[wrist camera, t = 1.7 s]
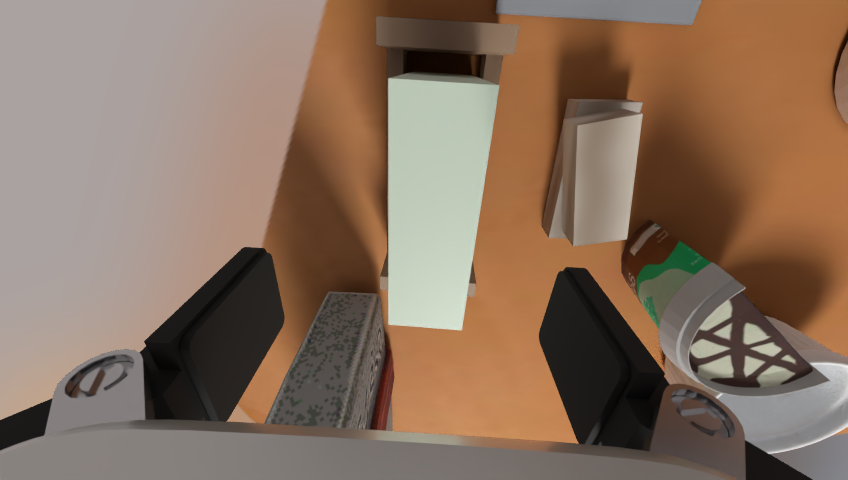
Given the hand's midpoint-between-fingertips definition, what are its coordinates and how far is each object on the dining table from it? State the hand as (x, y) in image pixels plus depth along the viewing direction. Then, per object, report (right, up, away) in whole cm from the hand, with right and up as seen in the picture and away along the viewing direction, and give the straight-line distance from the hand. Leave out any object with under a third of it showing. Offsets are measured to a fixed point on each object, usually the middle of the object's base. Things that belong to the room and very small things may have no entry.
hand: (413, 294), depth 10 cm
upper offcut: (+12, +6, +12) cm, 18 cm away
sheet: (+1, +8, +14) cm, 16 cm away
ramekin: (+31, -10, +23) cm, 40 cm away
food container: (+21, -1, +18) cm, 28 cm away
